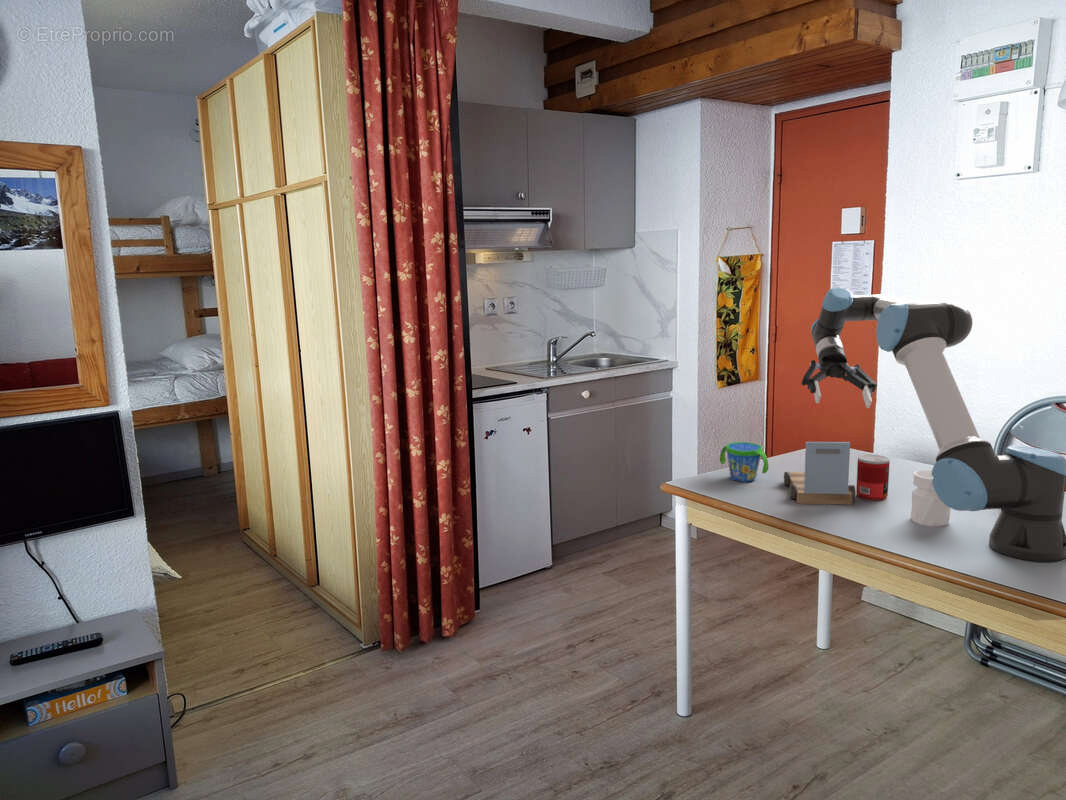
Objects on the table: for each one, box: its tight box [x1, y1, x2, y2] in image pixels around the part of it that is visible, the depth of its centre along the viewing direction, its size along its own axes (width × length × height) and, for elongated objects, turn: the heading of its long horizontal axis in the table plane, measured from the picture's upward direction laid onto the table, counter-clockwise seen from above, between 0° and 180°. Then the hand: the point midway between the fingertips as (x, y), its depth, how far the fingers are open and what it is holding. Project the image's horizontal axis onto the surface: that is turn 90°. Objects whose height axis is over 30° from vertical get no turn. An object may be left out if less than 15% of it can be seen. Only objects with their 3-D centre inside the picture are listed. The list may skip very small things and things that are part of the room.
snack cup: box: [719, 441, 769, 483], centre depth 235 cm, size 16×10×10 cm
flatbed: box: [783, 471, 857, 505], centre depth 221 cm, size 20×16×4 cm
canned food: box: [855, 453, 891, 502], centre depth 216 cm, size 8×8×11 cm
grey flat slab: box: [804, 441, 851, 494], centre depth 209 cm, size 1×11×14 cm, turn 80°
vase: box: [910, 469, 951, 527], centre depth 196 cm, size 9×9×12 cm
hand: (843, 401), depth 215 cm, fingers open, 13 cm apart
